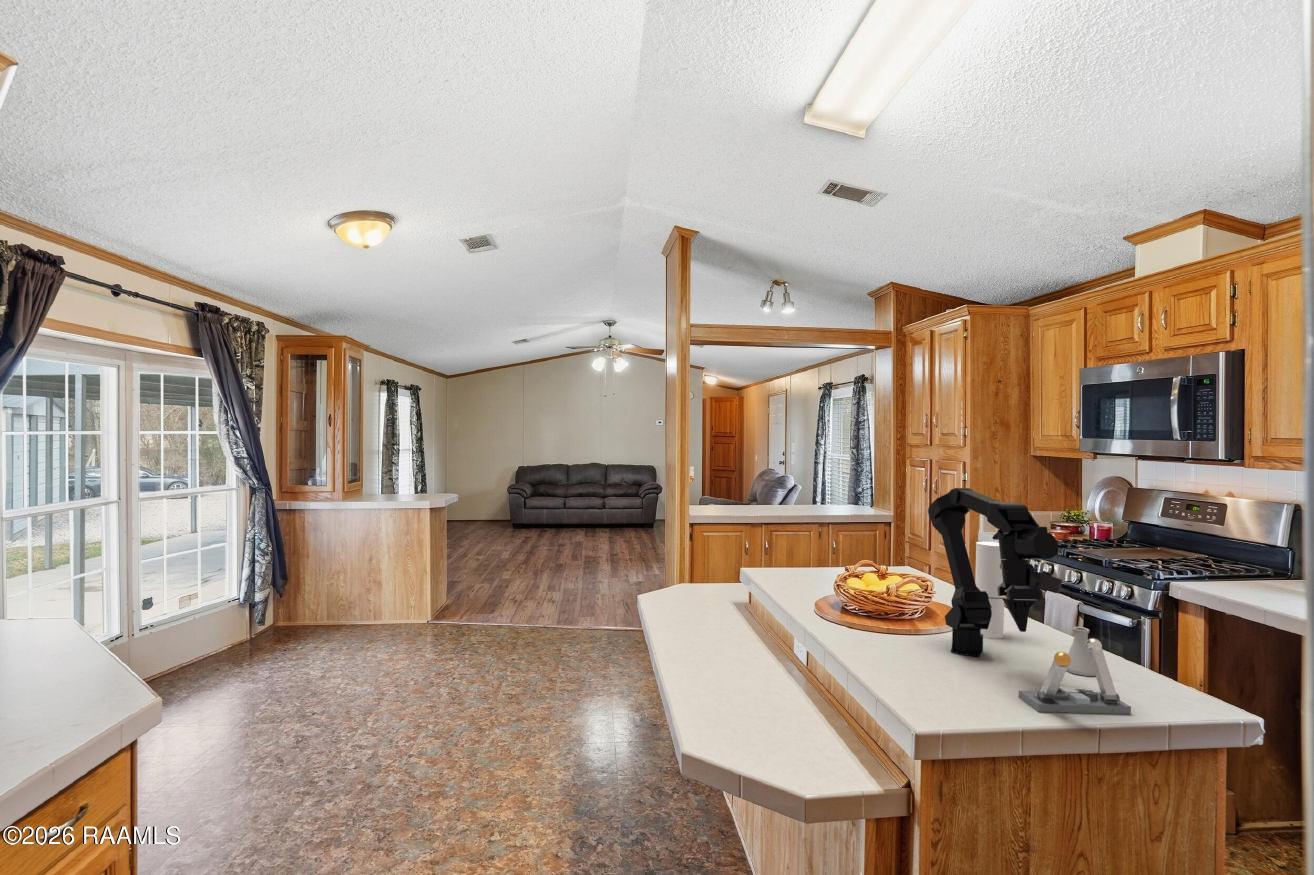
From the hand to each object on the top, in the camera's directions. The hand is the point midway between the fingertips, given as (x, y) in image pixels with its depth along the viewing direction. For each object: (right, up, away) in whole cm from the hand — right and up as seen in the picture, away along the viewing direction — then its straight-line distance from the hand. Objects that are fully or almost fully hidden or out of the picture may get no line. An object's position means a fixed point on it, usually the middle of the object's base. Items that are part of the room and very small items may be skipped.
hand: (1022, 631), depth 141 cm
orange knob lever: (-3, -9, -14) cm, 16 cm away
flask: (+18, -12, +8) cm, 23 cm away
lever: (+9, -9, -14) cm, 19 cm away
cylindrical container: (+11, -12, +35) cm, 39 cm away
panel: (+3, -11, -12) cm, 17 cm away
